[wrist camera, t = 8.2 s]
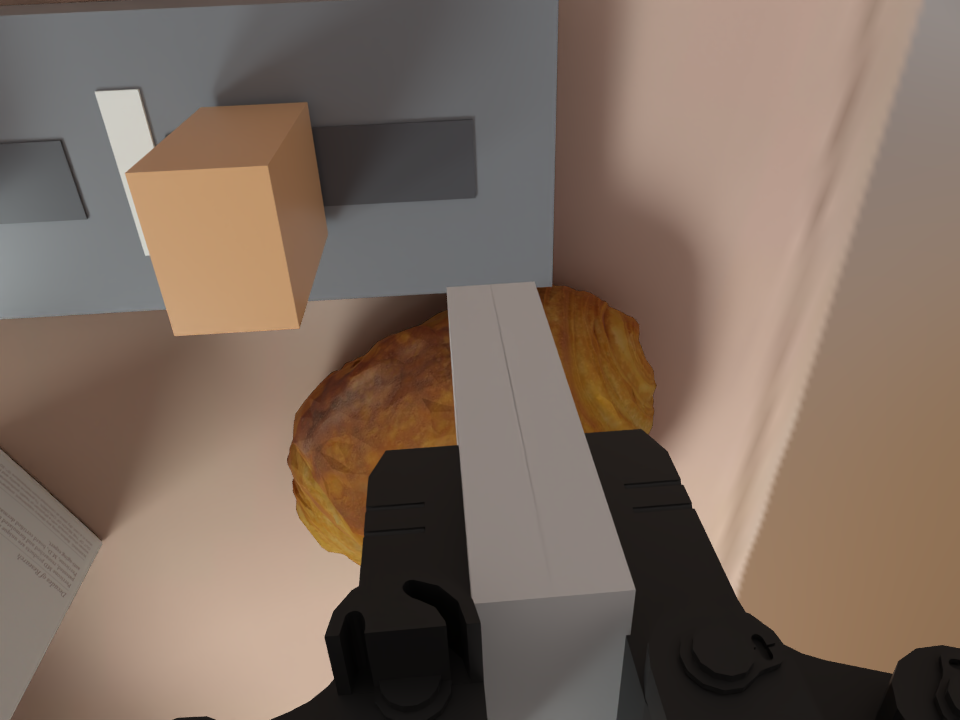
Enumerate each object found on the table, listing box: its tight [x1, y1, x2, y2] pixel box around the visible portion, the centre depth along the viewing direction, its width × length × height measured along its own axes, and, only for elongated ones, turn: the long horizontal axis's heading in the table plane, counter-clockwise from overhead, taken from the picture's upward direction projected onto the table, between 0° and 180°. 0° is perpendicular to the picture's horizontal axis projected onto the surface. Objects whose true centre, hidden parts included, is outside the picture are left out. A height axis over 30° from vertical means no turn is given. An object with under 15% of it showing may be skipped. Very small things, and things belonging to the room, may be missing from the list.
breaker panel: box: [0, 0, 559, 319], centre depth 23 cm, size 26×9×3 cm, turn 92°
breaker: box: [125, 102, 328, 336], centre depth 19 cm, size 3×4×6 cm
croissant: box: [287, 284, 657, 566], centre depth 29 cm, size 14×16×8 cm
